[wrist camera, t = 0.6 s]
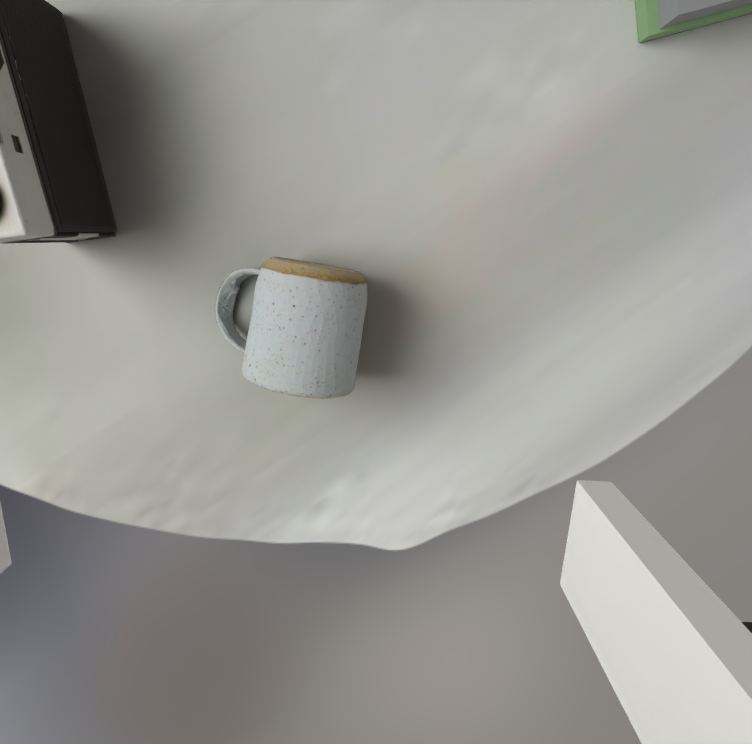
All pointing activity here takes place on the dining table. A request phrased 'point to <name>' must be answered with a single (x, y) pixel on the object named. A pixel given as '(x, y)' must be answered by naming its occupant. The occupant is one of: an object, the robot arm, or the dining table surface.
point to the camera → (45, 134)
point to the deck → (683, 15)
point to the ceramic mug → (298, 326)
